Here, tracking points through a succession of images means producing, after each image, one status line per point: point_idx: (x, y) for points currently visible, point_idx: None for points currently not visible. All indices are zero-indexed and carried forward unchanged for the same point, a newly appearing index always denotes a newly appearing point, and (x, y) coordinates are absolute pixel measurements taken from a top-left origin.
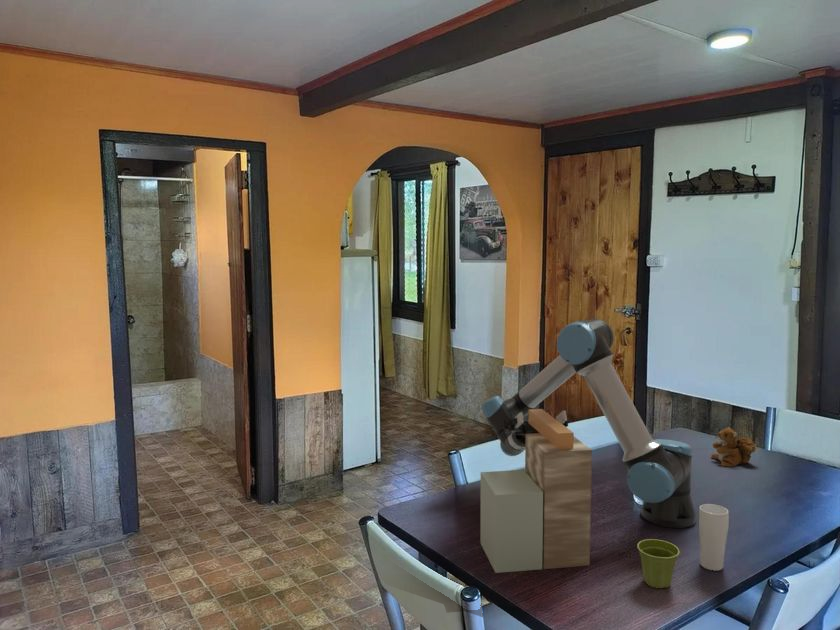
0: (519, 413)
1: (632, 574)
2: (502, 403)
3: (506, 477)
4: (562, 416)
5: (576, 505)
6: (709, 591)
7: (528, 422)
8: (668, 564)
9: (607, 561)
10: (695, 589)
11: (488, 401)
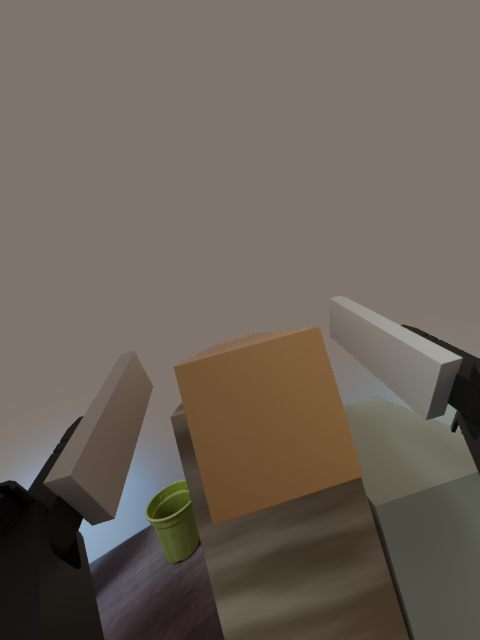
0: (345, 299)
1: (201, 565)
2: None
3: (400, 445)
4: (138, 383)
5: None
6: (141, 535)
7: (360, 466)
8: (177, 494)
9: (218, 615)
10: (152, 536)
11: None
